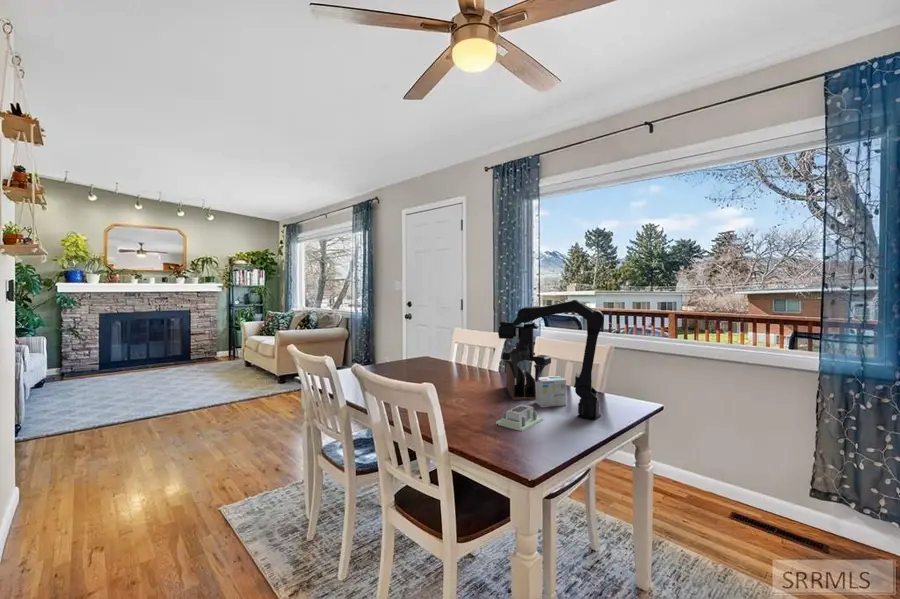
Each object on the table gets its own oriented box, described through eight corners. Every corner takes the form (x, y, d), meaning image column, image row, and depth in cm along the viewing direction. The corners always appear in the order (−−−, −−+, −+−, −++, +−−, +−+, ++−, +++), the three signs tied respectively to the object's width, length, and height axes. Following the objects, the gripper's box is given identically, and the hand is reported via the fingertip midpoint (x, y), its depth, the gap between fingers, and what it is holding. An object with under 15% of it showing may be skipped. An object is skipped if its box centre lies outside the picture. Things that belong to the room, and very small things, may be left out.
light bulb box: (559, 400, 175) (559, 375, 174) (566, 405, 168) (566, 379, 167) (535, 402, 173) (535, 376, 172) (541, 407, 166) (541, 380, 165)
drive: (533, 417, 152) (533, 406, 152) (518, 425, 144) (518, 413, 144) (521, 414, 155) (521, 404, 155) (506, 422, 148) (506, 410, 147)
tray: (542, 420, 152) (542, 409, 151) (522, 431, 141) (522, 420, 141) (516, 413, 159) (516, 404, 159) (495, 424, 148) (495, 413, 148)
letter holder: (512, 400, 176) (512, 367, 176) (505, 387, 196) (505, 357, 195) (536, 400, 177) (536, 367, 176) (527, 387, 196) (527, 357, 196)
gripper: (493, 340, 161) (493, 380, 162) (537, 345, 149) (537, 388, 150) (509, 336, 170) (509, 374, 171) (551, 341, 158) (551, 382, 159)
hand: (525, 379), depth 162 cm, fingers open, 9 cm apart
